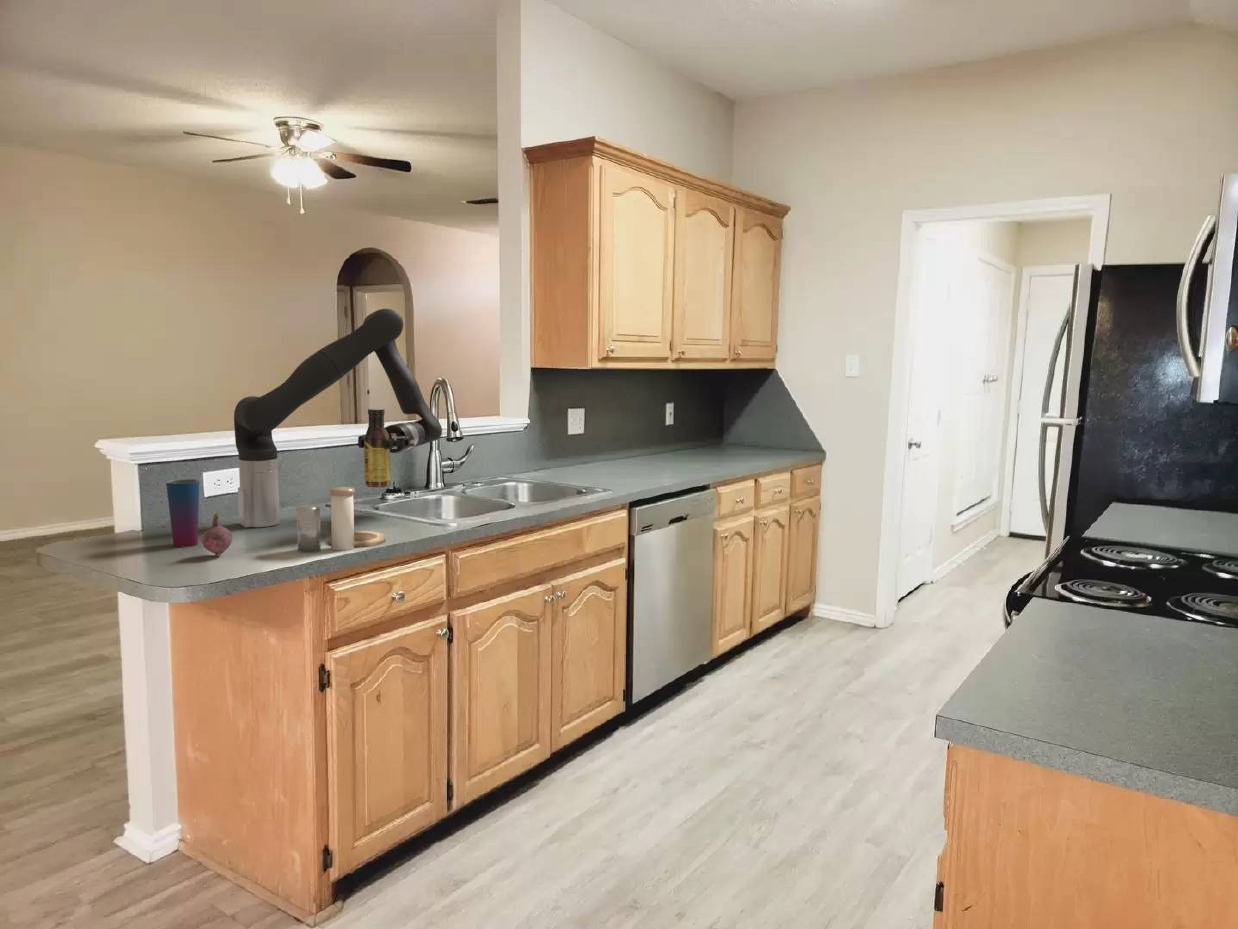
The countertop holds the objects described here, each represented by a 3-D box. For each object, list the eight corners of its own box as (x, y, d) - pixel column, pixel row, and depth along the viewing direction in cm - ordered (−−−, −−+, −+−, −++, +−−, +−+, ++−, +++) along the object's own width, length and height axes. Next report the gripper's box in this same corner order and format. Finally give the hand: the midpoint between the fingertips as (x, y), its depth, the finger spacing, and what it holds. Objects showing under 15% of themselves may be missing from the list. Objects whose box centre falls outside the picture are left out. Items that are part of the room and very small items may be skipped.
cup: (179, 549, 190) (176, 484, 188) (163, 545, 194) (159, 481, 192) (208, 544, 196) (205, 480, 194) (191, 540, 200) (188, 477, 197)
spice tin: (301, 553, 189) (300, 510, 188) (294, 549, 193) (293, 506, 192) (323, 551, 192) (322, 508, 191) (316, 546, 196) (315, 504, 195)
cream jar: (334, 552, 192) (333, 491, 190) (327, 547, 196) (326, 488, 194) (359, 549, 195) (358, 489, 193) (351, 544, 199) (349, 486, 197)
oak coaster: (339, 549, 194) (339, 545, 194) (322, 538, 204) (322, 534, 204) (393, 543, 201) (393, 538, 201) (374, 533, 212) (374, 528, 212)
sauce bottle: (367, 484, 215) (366, 407, 213) (392, 484, 216) (391, 407, 213) (362, 488, 209) (360, 409, 206) (387, 488, 210) (386, 409, 207)
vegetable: (199, 560, 182) (197, 514, 180) (206, 553, 188) (204, 509, 186) (229, 559, 183) (227, 514, 182) (235, 552, 189) (233, 508, 188)
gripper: (374, 422, 225) (345, 428, 209) (425, 424, 223) (400, 430, 207) (374, 450, 227) (345, 457, 210) (425, 452, 224) (400, 460, 208)
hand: (372, 444), depth 209 cm, fingers closed on sauce bottle, 6 cm apart
